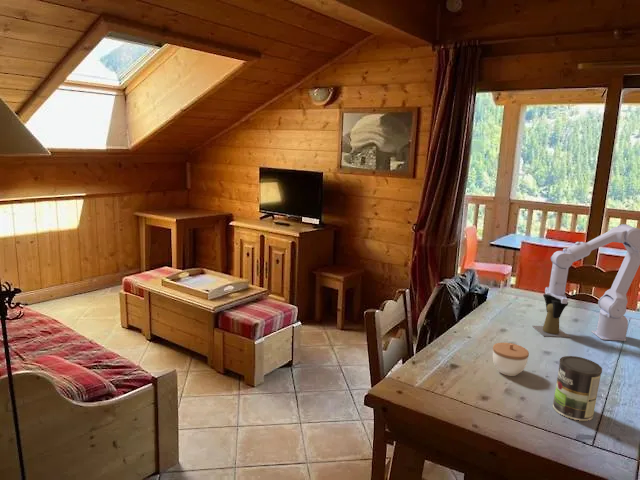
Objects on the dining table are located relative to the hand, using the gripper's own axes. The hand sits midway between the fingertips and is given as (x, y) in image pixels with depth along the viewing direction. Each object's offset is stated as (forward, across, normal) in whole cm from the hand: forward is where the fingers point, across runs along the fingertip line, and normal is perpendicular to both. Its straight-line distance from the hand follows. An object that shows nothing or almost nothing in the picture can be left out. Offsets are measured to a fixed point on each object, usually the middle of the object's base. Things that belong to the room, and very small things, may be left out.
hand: (552, 315), depth 188 cm
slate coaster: (+8, 0, 0) cm, 8 cm away
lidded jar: (+7, +36, -30) cm, 47 cm away
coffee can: (+7, +58, -20) cm, 62 cm away
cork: (+7, 0, 0) cm, 7 cm away
